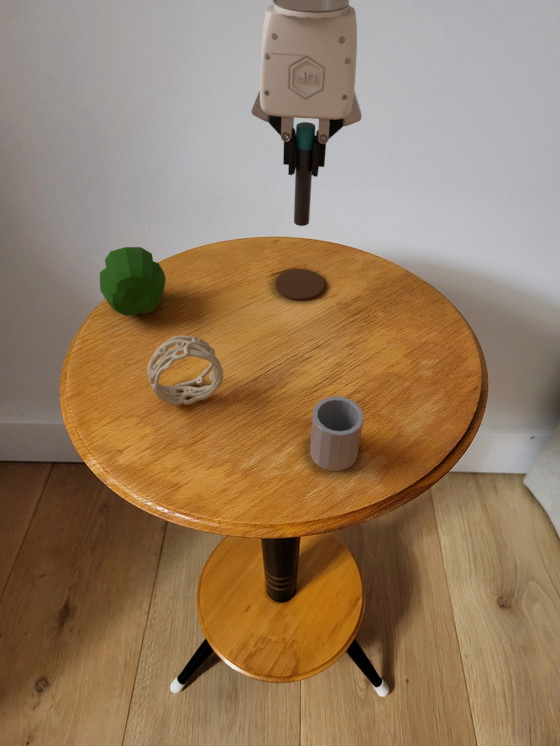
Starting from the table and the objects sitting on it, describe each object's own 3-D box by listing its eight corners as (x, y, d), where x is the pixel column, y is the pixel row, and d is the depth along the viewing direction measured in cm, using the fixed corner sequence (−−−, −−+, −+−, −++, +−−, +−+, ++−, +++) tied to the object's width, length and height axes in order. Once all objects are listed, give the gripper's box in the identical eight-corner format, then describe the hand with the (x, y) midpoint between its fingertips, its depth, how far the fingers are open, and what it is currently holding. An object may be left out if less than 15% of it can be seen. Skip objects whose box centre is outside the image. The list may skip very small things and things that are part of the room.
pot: (357, 435, 62) (363, 398, 57) (356, 473, 58) (363, 437, 54) (311, 431, 62) (314, 394, 58) (308, 469, 58) (311, 432, 54)
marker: (310, 218, 74) (316, 122, 66) (309, 227, 73) (314, 130, 64) (293, 217, 75) (297, 121, 66) (292, 226, 73) (295, 129, 64)
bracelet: (150, 394, 66) (139, 343, 60) (216, 376, 68) (211, 325, 62) (159, 418, 63) (148, 367, 57) (226, 399, 65) (222, 348, 60)
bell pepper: (179, 280, 71) (169, 249, 79) (115, 258, 67) (111, 227, 75) (155, 334, 74) (148, 299, 82) (92, 316, 70) (91, 281, 78)
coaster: (325, 273, 83) (325, 270, 83) (322, 302, 78) (323, 299, 78) (278, 270, 84) (278, 267, 83) (272, 298, 79) (272, 296, 78)
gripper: (225, -3, 54) (233, 181, 67) (395, 5, 53) (369, 189, 66) (237, -20, 59) (243, 153, 72) (392, -14, 58) (369, 161, 71)
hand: (303, 169), depth 69 cm, fingers closed on marker, 2 cm apart
